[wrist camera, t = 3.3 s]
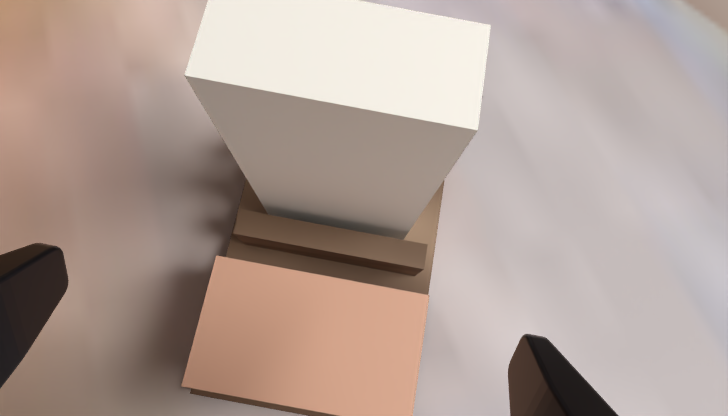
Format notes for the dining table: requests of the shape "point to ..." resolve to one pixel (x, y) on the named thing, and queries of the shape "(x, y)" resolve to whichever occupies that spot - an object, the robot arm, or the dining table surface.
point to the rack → (332, 256)
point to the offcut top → (307, 341)
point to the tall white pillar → (340, 104)
